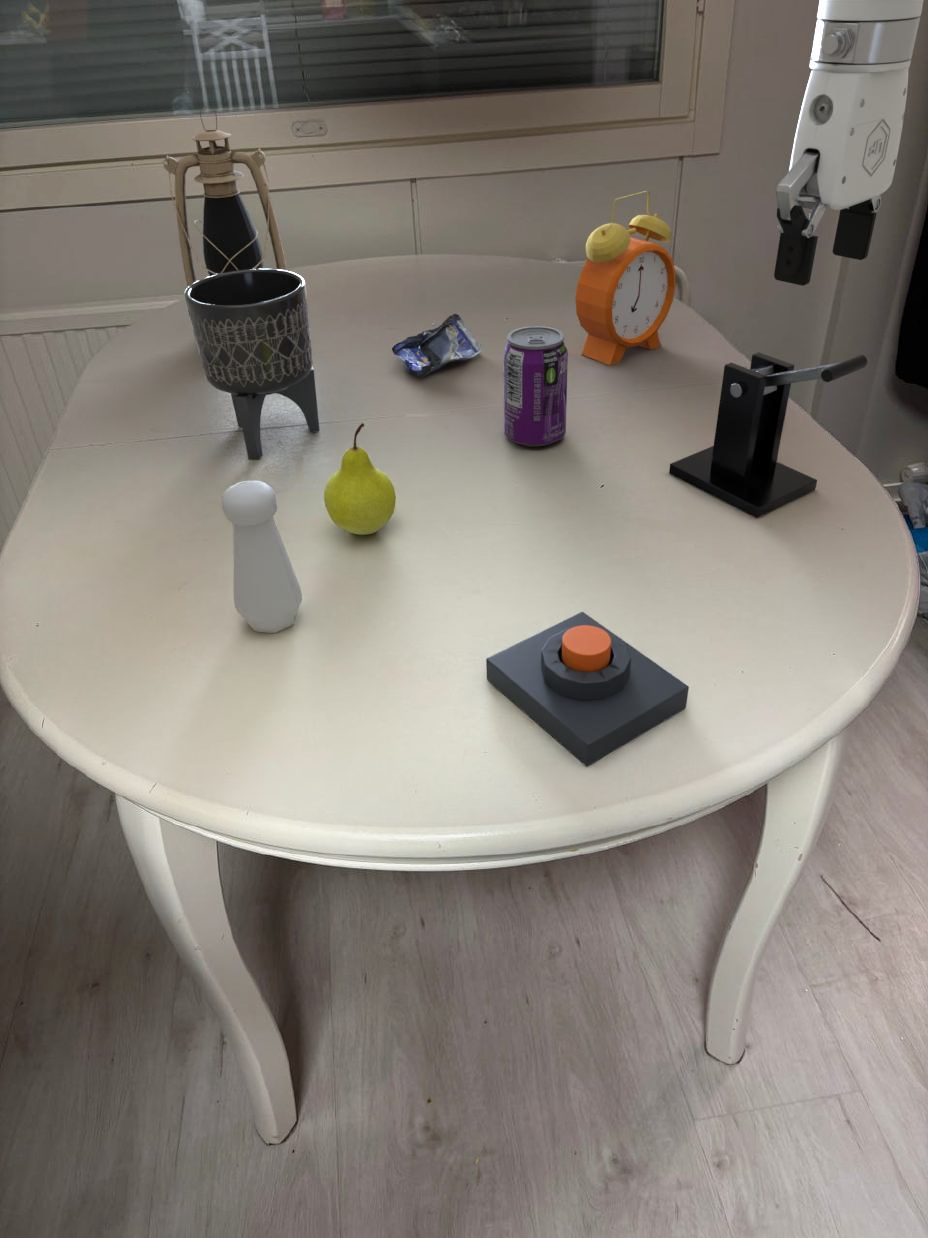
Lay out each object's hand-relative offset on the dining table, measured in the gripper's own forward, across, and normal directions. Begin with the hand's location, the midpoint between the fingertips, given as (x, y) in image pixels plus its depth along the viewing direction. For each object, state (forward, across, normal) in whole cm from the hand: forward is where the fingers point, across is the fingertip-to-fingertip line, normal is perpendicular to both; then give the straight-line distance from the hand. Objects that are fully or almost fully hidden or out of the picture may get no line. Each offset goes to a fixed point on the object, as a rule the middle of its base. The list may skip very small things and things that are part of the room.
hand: (821, 268), depth 83 cm
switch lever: (+10, -2, -1) cm, 11 cm away
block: (+22, -38, -7) cm, 45 cm away
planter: (+22, -30, +50) cm, 62 cm away
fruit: (+22, -35, +25) cm, 49 cm away
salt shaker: (+22, -50, +19) cm, 58 cm away
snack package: (+22, -2, +52) cm, 56 cm away
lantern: (+22, -13, +83) cm, 86 cm away
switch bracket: (+22, -2, +4) cm, 22 cm away
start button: (+19, -39, -7) cm, 43 cm away
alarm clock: (+22, +18, +36) cm, 46 cm away
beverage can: (+22, -9, +27) cm, 36 cm away
